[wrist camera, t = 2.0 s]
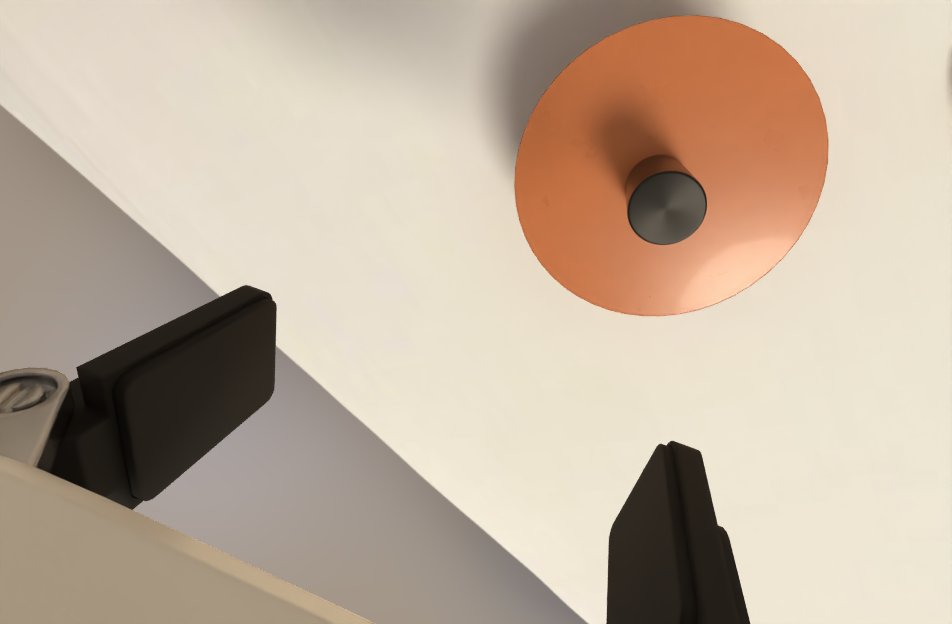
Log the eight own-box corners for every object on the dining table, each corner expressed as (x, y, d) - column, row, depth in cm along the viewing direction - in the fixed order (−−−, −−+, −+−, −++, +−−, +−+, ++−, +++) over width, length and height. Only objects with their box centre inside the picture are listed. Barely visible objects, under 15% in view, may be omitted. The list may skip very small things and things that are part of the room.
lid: (559, -9, 19) (536, -49, 14) (888, 55, 17) (1007, 37, 12) (494, 267, 25) (461, 313, 20) (733, 339, 23) (767, 410, 18)
